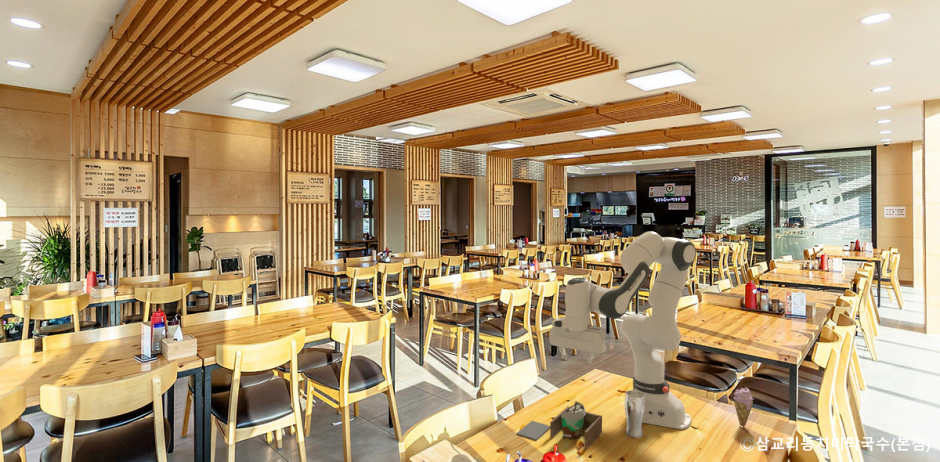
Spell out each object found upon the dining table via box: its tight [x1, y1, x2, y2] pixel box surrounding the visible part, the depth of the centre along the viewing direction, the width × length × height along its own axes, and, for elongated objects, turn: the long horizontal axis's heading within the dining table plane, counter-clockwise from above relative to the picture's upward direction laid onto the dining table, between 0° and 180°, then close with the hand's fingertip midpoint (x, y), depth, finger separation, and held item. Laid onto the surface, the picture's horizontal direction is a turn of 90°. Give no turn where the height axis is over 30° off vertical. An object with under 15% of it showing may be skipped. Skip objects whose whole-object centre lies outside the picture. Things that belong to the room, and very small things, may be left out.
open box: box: [549, 406, 603, 450], centre depth 166 cm, size 14×15×6 cm
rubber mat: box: [516, 420, 550, 441], centre depth 169 cm, size 8×12×1 cm, turn 145°
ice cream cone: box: [732, 386, 755, 428], centre depth 172 cm, size 7×6×15 cm
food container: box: [561, 400, 587, 440], centre depth 166 cm, size 12×6×10 cm, turn 143°
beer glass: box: [624, 389, 645, 439], centre depth 167 cm, size 7×7×15 cm
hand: (576, 361), depth 165 cm, fingers open, 8 cm apart
